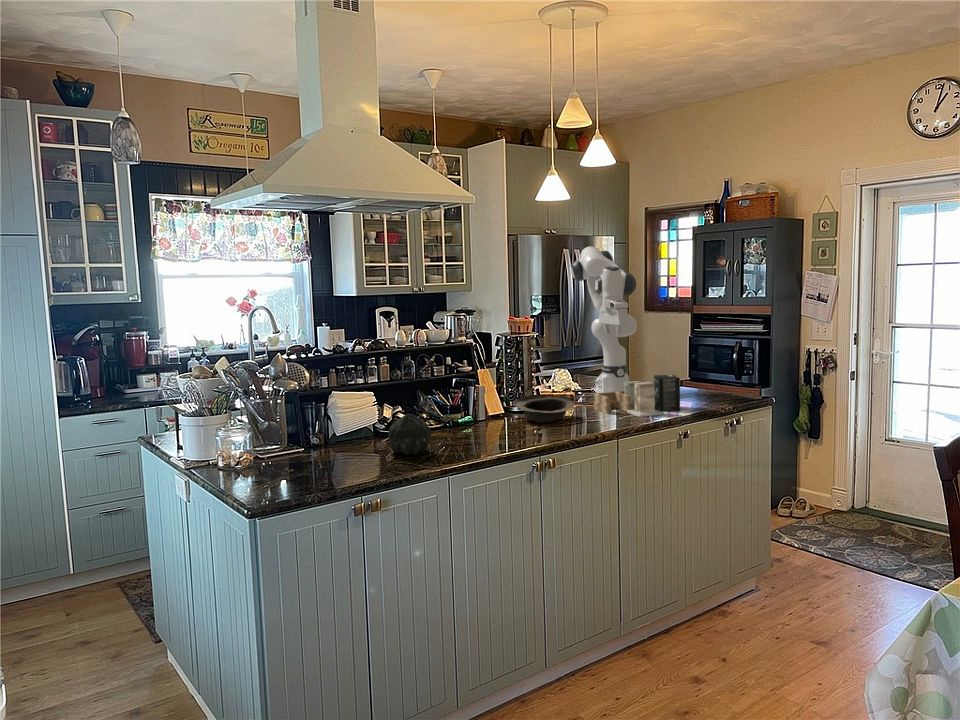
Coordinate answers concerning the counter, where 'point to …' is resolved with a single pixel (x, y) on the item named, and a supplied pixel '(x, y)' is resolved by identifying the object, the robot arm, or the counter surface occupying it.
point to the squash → (409, 435)
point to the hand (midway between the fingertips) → (612, 334)
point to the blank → (644, 397)
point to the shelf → (616, 399)
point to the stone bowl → (544, 407)
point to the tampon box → (667, 392)
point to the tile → (644, 413)
